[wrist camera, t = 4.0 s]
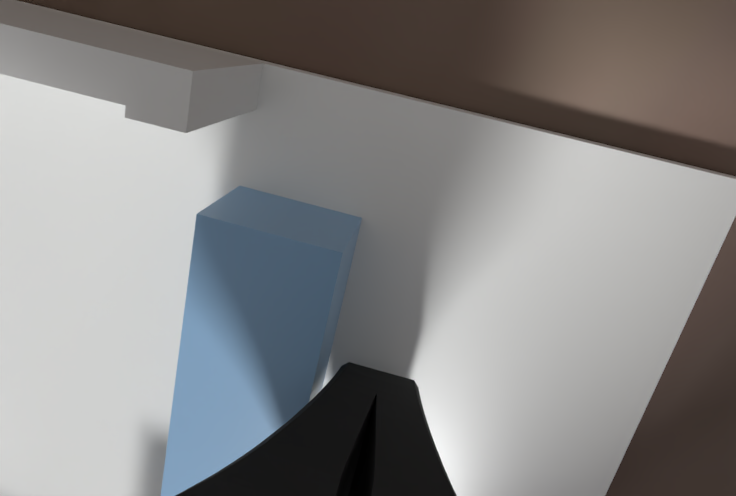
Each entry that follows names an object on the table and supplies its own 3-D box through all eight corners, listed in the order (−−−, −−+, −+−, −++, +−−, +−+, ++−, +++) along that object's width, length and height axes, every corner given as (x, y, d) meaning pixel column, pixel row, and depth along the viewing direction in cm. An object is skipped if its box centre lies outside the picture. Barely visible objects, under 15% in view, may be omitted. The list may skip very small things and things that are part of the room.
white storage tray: (739, 177, 9) (863, 238, 7) (486, 729, 14) (493, 903, 11) (-124, -35, 10) (-350, -64, 7) (-84, 552, 15) (-211, 673, 12)
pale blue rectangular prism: (362, 217, 10) (342, 252, 8) (290, 523, 13) (264, 597, 11) (239, 185, 10) (196, 213, 9) (192, 494, 13) (151, 563, 11)
